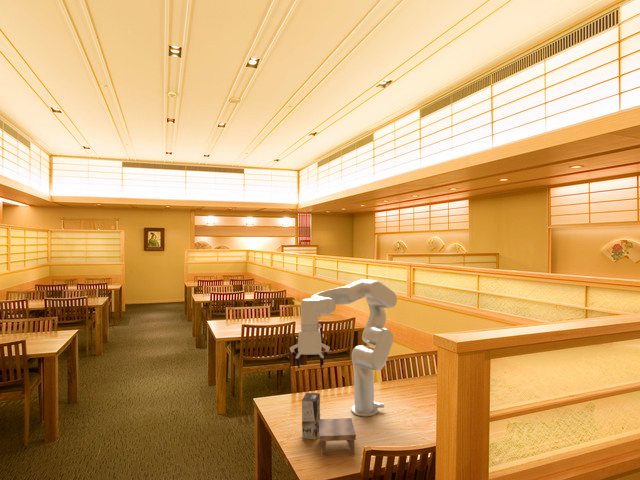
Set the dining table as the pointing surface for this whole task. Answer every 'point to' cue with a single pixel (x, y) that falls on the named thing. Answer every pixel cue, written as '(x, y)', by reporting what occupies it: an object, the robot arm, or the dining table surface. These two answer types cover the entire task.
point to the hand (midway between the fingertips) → (309, 366)
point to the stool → (336, 432)
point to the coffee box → (310, 415)
